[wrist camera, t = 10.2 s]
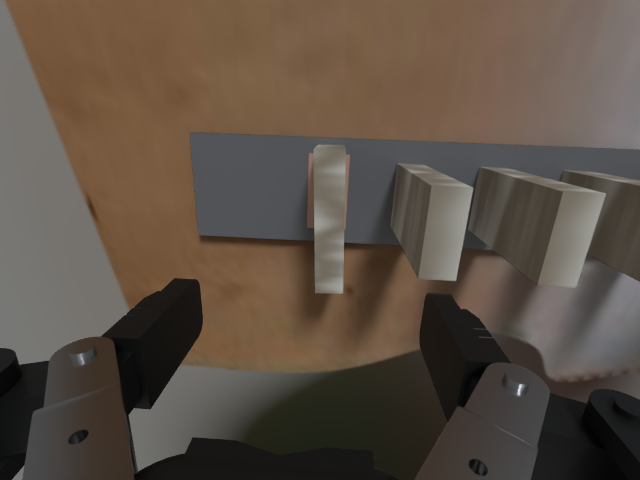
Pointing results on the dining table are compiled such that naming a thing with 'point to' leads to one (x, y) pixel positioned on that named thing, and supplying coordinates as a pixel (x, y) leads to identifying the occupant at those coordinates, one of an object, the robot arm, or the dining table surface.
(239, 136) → the domino board
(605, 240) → the ivory domino
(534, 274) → the ivory domino
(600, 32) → the dining table surface
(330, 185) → the domino
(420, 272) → the ivory domino
